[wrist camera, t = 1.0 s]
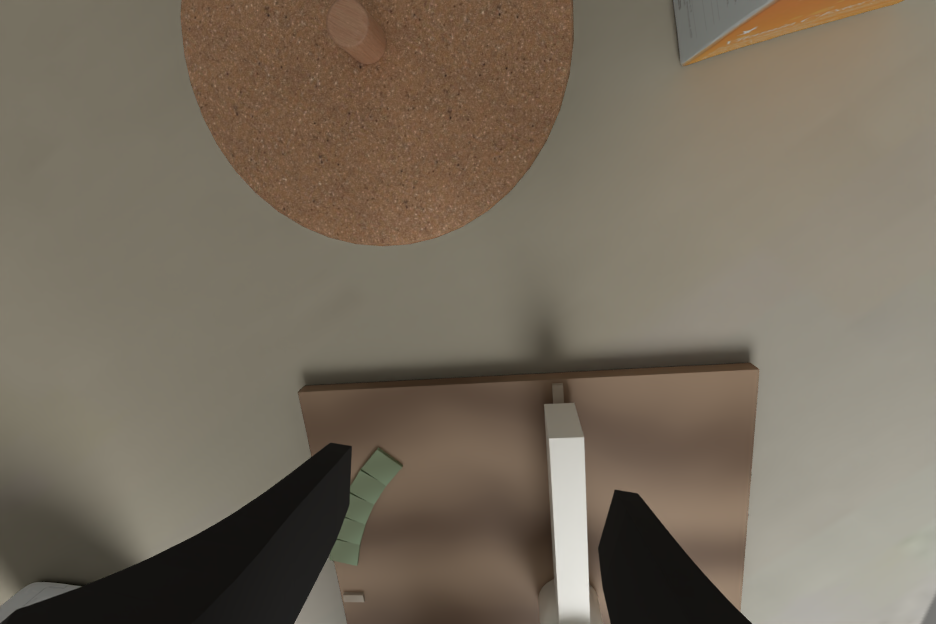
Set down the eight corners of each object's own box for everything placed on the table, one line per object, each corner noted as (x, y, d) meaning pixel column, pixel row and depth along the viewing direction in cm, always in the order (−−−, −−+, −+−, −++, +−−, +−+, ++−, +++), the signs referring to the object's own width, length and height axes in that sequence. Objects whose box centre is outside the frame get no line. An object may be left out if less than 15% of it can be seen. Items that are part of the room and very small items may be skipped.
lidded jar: (358, -101, 18) (199, -401, 9) (599, 31, 18) (686, -124, 9) (270, 158, 21) (83, 136, 12) (478, 265, 21) (453, 324, 12)
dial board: (729, 655, 26) (737, 673, 25) (357, 647, 28) (351, 663, 27) (750, 362, 21) (761, 371, 20) (302, 385, 24) (293, 394, 23)
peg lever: (606, 629, 25) (624, 715, 21) (533, 628, 25) (537, 711, 21) (601, 398, 21) (622, 448, 17) (516, 402, 22) (517, 452, 18)
